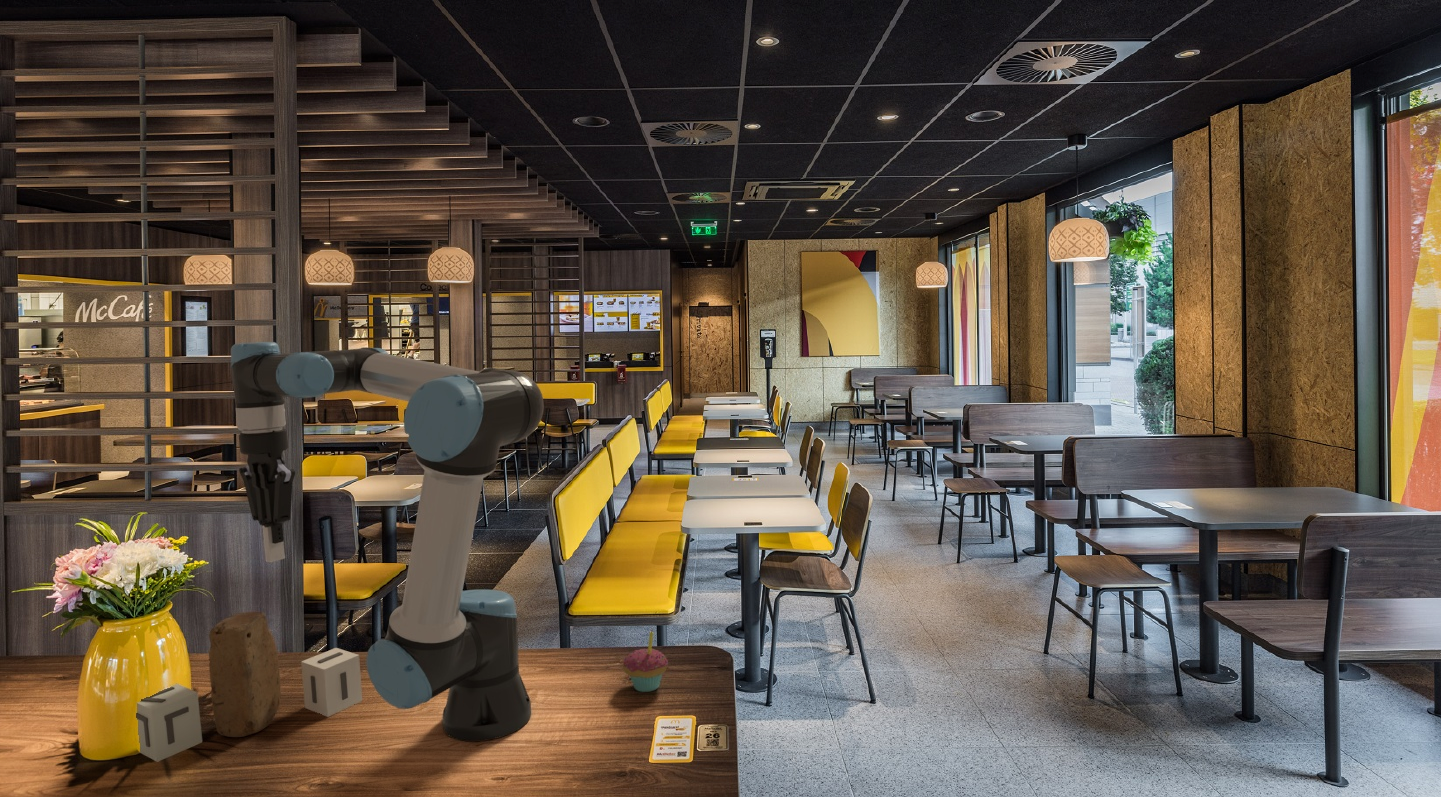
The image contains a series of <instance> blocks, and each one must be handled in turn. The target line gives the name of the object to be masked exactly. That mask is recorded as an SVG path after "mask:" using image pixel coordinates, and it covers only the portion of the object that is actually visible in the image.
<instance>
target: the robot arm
mask: <svg viewBox="0 0 1441 797" xmlns="http://www.w3.org/2000/svg"><path fill="white" fill-rule="evenodd" d="M230 360H231V361H230V362H231V364H230V369H231V377H232V378H231V379H232V386H233V394H234V396H233V397H234V402H235V415H236V425H237V430H239V431H241V432H240V433H239V434H238V443H239V452H240V453H241V454H242V455H246V456H247V458H246V462H247V464H246V466H244V467H243V466H242V467H240V468H239V470H238V471H239V475H240V476H241V478H242V480H243V484H244V488H245V489H244V490H245V492H246V493H245V494H246V497H247V500H248V505H249V508H250V514H251V517H252V521H258V524H259V525H260V526H261V530H262V540H263V547H264V549H263V550H264V557H265V562H266V563H273V562H278V561H281V560H284V559H286V554H285V543H284V540H285V539H284V529H283V524H284V523H285V522H289V521H290V520H291V517H292V516H291V513H292V498H293V496H292V495H293V482H294V479H295V476H296V470H295V469H294V468H291V469H288V468H287V467H286V465H285V464H286V460H285V458H284V456H283V452H284V451H286V450H288V449H289V439H288V430H286V429H285V428H283V427H285V426H286V425H287V422H286V421H287V420H286V409H285V400H284V399H285V397H287V398H296V399H306V398H316V397H320V396H322V395H325V394H335V393H342V392H351V391H359V392H364V393H369V394H373V395H378V396H382V397H387V398H392V399H394V400H395V399H396V400H401V401H405V402H407V404H406V408H405V411H404V418H403V430H404V433H405V434H406V435H408V438H407V440H406V441H407V443H408V445H409V447H410V448H411V450H412V451H413V452H414V453H415V460H416V462H417V464H419V466H420V467H421V468H422V469H423V477H422V482H421V483H422V484H421V490H420V496H419V501H418V502H419V503H418V507H417V513H416V521H415V526H414V532H413V538H412V545H411V550H410V556H409V562H408V566H407V567H408V568H407V575H406V580H405V585H404V586H405V587H404V593H403V598H402V604H401V605H400V606H398V607H396V608H395V609H394V610H393V611H392V613H391V614H390V616H389V619H388V620H389V621H388V626H387V632H386V636H385V637H384V638H380V639H378V640H377V641H375V643H373V644H372V645H371V646H370V648H369V649H368V650H367V653H366V661H365V662H366V670H367V674H368V677H369V679H370V682H371V684H372V685H373V687H374V689H375V691H376V692H377V694H378V695H379V696H380V697H381V698H382V699H383V700H384V701H385V702H387V703H388V704H389V705H391V706H392V707H395V708H397V709H401V710H409V709H413V708H414V707H416V706H420V705H421V704H425V703H427V702H429V701H431V699H433V698H435V697H437V696H438V695H440V694H441V693H443V692H445V691H447V690H448V693H447V694H448V695H447V699H446V704H445V706H444V708H443V712H442V717H441V718H442V728H443V732H444V733H445V734H446V735H447V736H448V737H450V738H453V739H455V740H459V741H465V742H479V741H480V742H482V741H490V740H495V739H498V738H499V739H500V738H502V737H505V736H508V735H510V734H513V733H515V732H516V731H518V730H520V729H522V728H523V727H525V725H526V724H527V723H528V722H529V721H530V719H531V717H532V702H531V698H530V696H529V694H528V691H527V689H526V686H525V683H524V681H523V679H522V676H521V674H520V664H519V641H518V621H517V620H518V619H517V618H518V614H517V610H516V602H515V600H514V598H513V596H512V595H511V594H509V593H508V592H506V591H502V590H496V589H469V590H467V589H466V590H463V589H464V586H465V584H464V583H465V580H466V579H465V578H466V573H467V568H468V563H469V557H470V552H471V547H472V542H473V535H474V530H475V526H476V520H477V519H476V518H477V514H478V509H479V504H480V503H479V502H480V498H481V492H482V487H483V482H484V478H486V477H487V476H490V475H491V474H492V473H494V472H495V471H496V468H497V463H498V458H499V452H500V447H503V446H507V445H511V444H514V443H515V444H516V443H518V442H520V441H522V440H525V439H526V438H528V437H529V436H530V435H532V433H534V432H535V431H536V429H537V428H538V426H539V425H540V422H541V421H542V418H543V414H544V409H545V408H544V407H545V406H544V398H543V393H542V391H541V389H540V387H539V385H537V383H536V382H535V381H534V380H533V379H532V378H531V377H529V376H528V375H526V374H525V373H523V372H520V371H517V370H509V369H501V368H495V367H486V368H483V369H481V370H479V371H478V370H474V369H468V368H462V367H458V366H453V365H446V364H440V363H436V362H431V361H425V360H420V359H416V358H409V357H405V356H400V355H394V354H390V353H388V352H387V350H385V349H384V348H380V347H368V346H367V347H361V348H351V349H340V350H335V349H334V350H322V351H302V352H301V351H298V352H286V353H281V351H280V347H279V344H278V343H277V342H275V341H263V342H262V341H261V342H260V341H259V342H240V343H235V344H233V345H232V346H231V348H230Z"/></svg>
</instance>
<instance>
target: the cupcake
mask: <svg viewBox="0 0 1441 797" xmlns="http://www.w3.org/2000/svg"><path fill="white" fill-rule="evenodd" d="M653 630H654V628H651V631H649V635H648V636H649V638H648V647H647V648H638V649H635V650H633V651H631V652H630V653H628V654H627V655H626V657H625V658H624V660H623V663H622V670H623V672H624V673H625V674H626V675H628V676H629V677H630V680H631V681H632V684H633V688H634V690H636V691H637V692H642V693H645V692H646V693H648V692H653V691H655V690H657V689H659V686H660V683H661V679H662V677H663V674H664V672H666V671H667V667H668V665H669V661H668V659H667V656H666V655H665V654H664V653H663V652H661V651H660V650H657V649H656V648H652V647H653V639H654V637H653V636H654V632H653Z"/></svg>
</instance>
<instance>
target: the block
mask: <svg viewBox="0 0 1441 797" xmlns="http://www.w3.org/2000/svg"><path fill="white" fill-rule="evenodd" d="M208 638H209V641H210V647H209V650H208V662H209V663H208V664H209V665H208V666H209V668H208V670H209V681H210V682H209V683H210V688H211V689H210V691H211V692H210V694H211V695H210V696H211V697H210V698H211V703H212V713H213V718H214V722H215V726H216V731H217V733H218V734H219V735H220V736H225V737H230V738H244V737H246V736H249V735H253V734H256V733H258V732H261V731H263V730H264V729H265V728H267V727H268V726H270V724H271V722H272V721H273V720H274V718H275V716H276V714H277V712H278V709H279V705H280V704H281V703H280V702H281V694H282V693H281V692H282V691H281V688H282V687H281V678H280V677H281V674H280V662H279V655H278V649H277V645H276V641H275V637H274V635H273V634H272V631H271V630H270V629H269V624H268V619H267V615H266V614H265V613H264V612H261V611H245V612H235V613H234V614H232V615H230V616H229V617H227V618H224V619H222V620H220V621H219V622H218V623H217V624H215V625H214V626H213V628H212V629H210V631H209V633H208Z"/></svg>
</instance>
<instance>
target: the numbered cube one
mask: <svg viewBox="0 0 1441 797" xmlns="http://www.w3.org/2000/svg"><path fill="white" fill-rule="evenodd" d="M360 665H361V664H360V654H357V653H354V652H350V651H347V650H344V649H341V648H338V647H334V648H332V649H330V650H328V651H324V652H322V653H319V654H317V655H315V656H311V657H309V658H307V659H304V660H302V661H301V665H300V666H301V673H302V675H301V676H302V687H303V688H302V689H303V699H304V709H307V710H310V711H311V712H314V711H315V713H316V712H317V713H316V714H319V713H320V715H321V714H322V716H325V717H327V718H329V717H331V716H333V715H335V714H338V713H339V711H340V712H342V711H344V710H346V709H349V708H350V707H352V706H355V705H357V704H359V703H361V702H362V701H363V693H362V692H363V690H362V676H361V666H360ZM354 704H355V705H354Z"/></svg>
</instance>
